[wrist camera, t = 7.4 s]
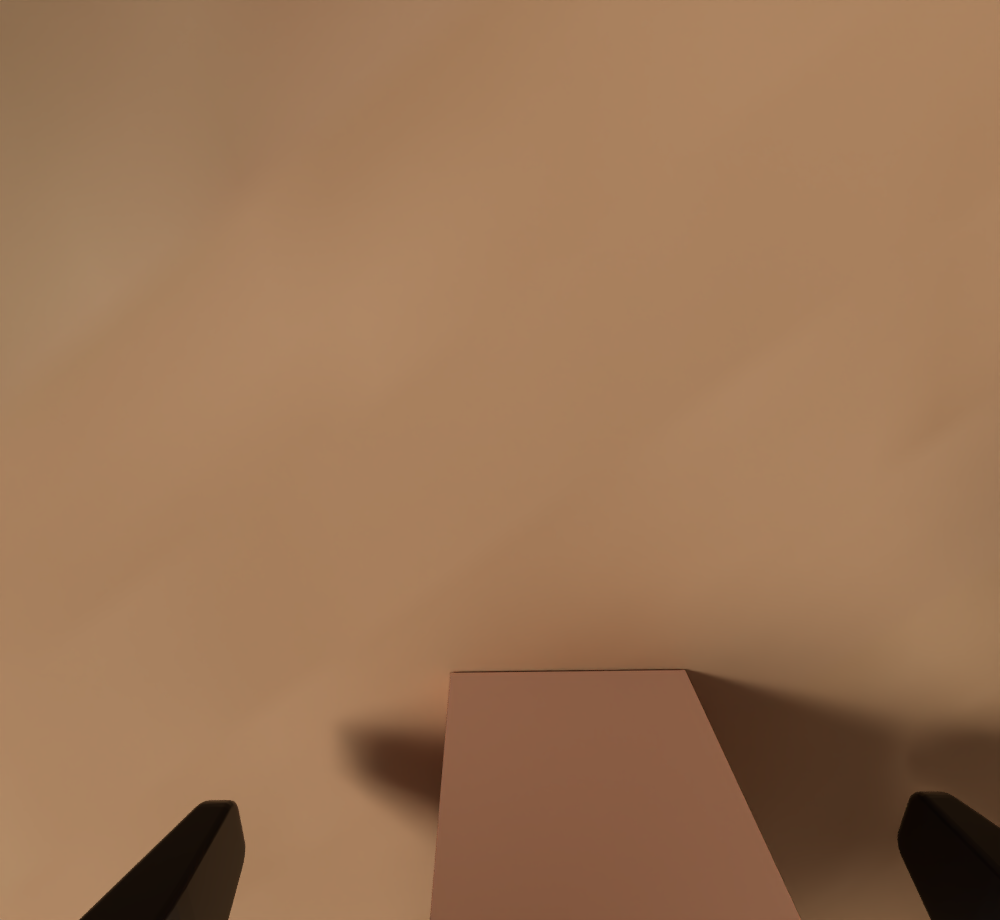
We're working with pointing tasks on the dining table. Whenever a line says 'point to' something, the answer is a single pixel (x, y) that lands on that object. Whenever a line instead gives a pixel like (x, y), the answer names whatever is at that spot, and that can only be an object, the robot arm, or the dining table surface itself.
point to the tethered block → (593, 805)
